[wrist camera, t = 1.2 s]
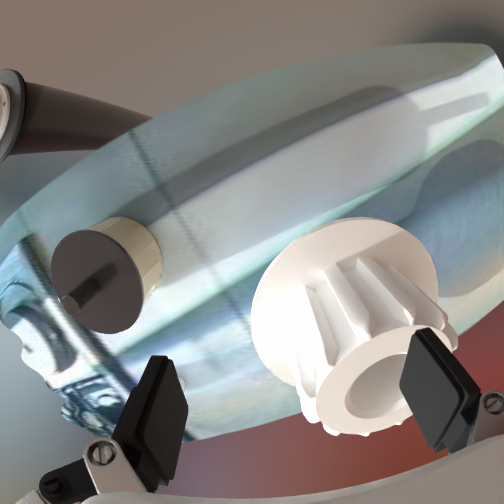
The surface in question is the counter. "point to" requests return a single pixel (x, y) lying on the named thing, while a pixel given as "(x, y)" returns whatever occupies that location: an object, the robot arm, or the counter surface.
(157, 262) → the faceted cream dish
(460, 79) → the counter surface
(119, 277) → the lid
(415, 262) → the ribbed cylinder on disc
